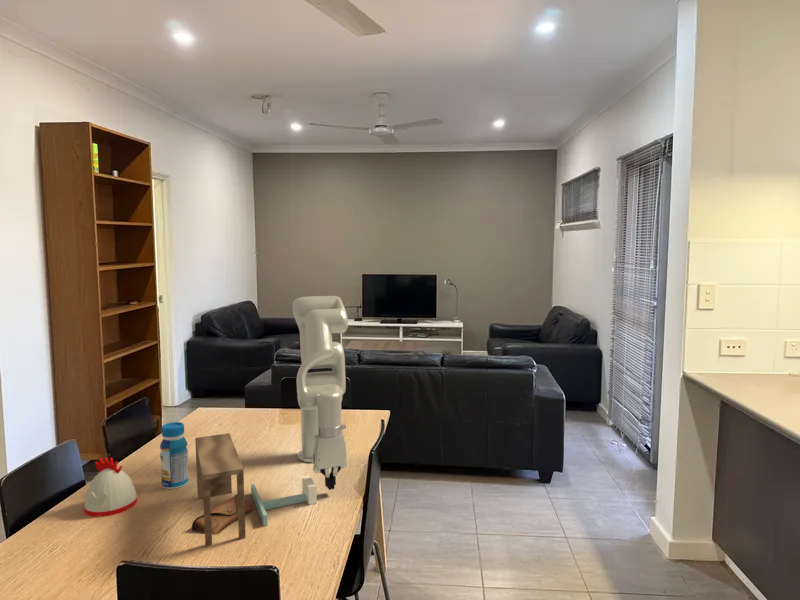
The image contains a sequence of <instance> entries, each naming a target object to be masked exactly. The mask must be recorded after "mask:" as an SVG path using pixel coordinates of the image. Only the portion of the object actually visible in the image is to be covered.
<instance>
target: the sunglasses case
mask: <svg viewBox="0 0 800 600" xmlns="http://www.w3.org/2000/svg"><path fill="white" fill-rule="evenodd" d="M244 503H245V516H246V515H247V514H250V512H253V511H254V510H255V509H256V510H257V507H254V506H252V505H251V504H250V503H249V502H247V501H245V500H244ZM252 510H253V511H252ZM236 521H238V499H237V493H236V494H235V495H234V496H232V497H231V498H228V500H225V501H224V502H222V503H220V504H219V505H216V506H215V507H214V508H211V527H212V535H213V536H214V535H215V536H216V535H219V534H220V533H221V532H222V531H223V530H225V529H226V528H228V527H229V526H230V525H232V524H234V523H235V522H236ZM191 530H192V531H193V532H194V531H195V532H197V533H202V534H205V525H204V514H203V515H200V516H198V517H197V518H195V519H194V520H193V522H192V523H191Z"/></svg>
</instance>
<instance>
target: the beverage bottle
mask: <svg viewBox="0 0 800 600" xmlns="http://www.w3.org/2000/svg"><path fill="white" fill-rule="evenodd" d="M184 434H185V424H184V423H183V422H181V421H180V422H179V421H178V422H177V421H173V422H168V423H165V424H163V425H162V426H161V437H162V438H163V439H162V440H161V441H160V446H159V449H160V450H161V451H160V453H159V458H160V468H161V469H160V470H161V471H160V472H161V486H162V488H163V489H167V490H175V489H179V488H180V489H181V488H182V487H185V486H187V485H188V484H189V482H190V480H189V479H190V478H189V460H188V458H189V456H188V455H189V449H188V447H187V446H188V441H187V439H186V437H184Z"/></svg>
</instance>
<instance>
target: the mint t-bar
mask: <svg viewBox="0 0 800 600" xmlns="http://www.w3.org/2000/svg"><path fill="white" fill-rule="evenodd" d="M301 486H302V490H301V491H302V493H299V494H295V495H290V496H289V495H288V496H285V497H279V498H274V499H269V500H268V499H267V500H265V501H262V500H261V496H260V494H259V492H258V490H257V487H256V485H255V483H252V484H250V493H251V497H252V499H253V502H254V504H255V506H256V507H255V508H256V510H257V512H258V515H259V517H260V520H261V522H262V525H263V527H267V526H268V513H267V512H266V510H270V509H276V508H281V507H285V506H291V505H296V504H301V503H307V504H308V505H314V504H318V497H317V496H318V495H317V493H318V490H317V487H318V486H317V485H316V483H315V482H314V480H313V479H312V476H311V475H308V476H302V477H301ZM300 502H301V503H300ZM295 503H296V504H295ZM290 504H291V505H290Z"/></svg>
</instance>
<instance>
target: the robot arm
mask: <svg viewBox="0 0 800 600" xmlns="http://www.w3.org/2000/svg"><path fill="white" fill-rule="evenodd" d="M292 313H293V317H294V320H295V322H296V325H297V327H298V331H299V343H300V344H299V346H300V359H301V360H300V362H301V365H300V366H299V368H298V370H297V374H296V393H297V395H296V396H297V402H298V406H299V408H300V428H301V430H300V431H301V433H300V435H301V438H300V439H301V450H300V451H298V453H297V459H298V460H299V461H301V462H304V463H312V465H313V468H312V471H313V473H315V474H322V475H323V476H324V485H325V487H326V488H327V489H328V490H329V491H330V490H334V489H335V486H336V485H337V481H336V478H337V476H338V473H339V472H340V471H341V470H343V469H345V468H347V466H348V464H347V462H348V453H347V444H346V438H345V434H344V433H343V430H346V429H347V425H346V424H342V423H343V422H342V402H343V396H344V394H345V393H346V388H347V386H346V385H347V384H346V383H347V382H346V360H345V359H346V358H345V356H346V355H345V350H344V347H343V345H342V343H340V342H338V341H333V335H332V334H342V333H346V332H347V330H348V327H349V318H348V314H347V310H346V307H345V306H344V303H343V301H342V299H341V297H340V296H338V295H337V296H336V295H312V296H302V297H300V296H299V297H298V298H295V299H294V300H293V303H292ZM327 368H328V369H332V370H329V371H313V372H308V371H309V370H310V369H311V370H312V369H313V370H314V369H317V370H318V369H327ZM329 469H330V470H329Z"/></svg>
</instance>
